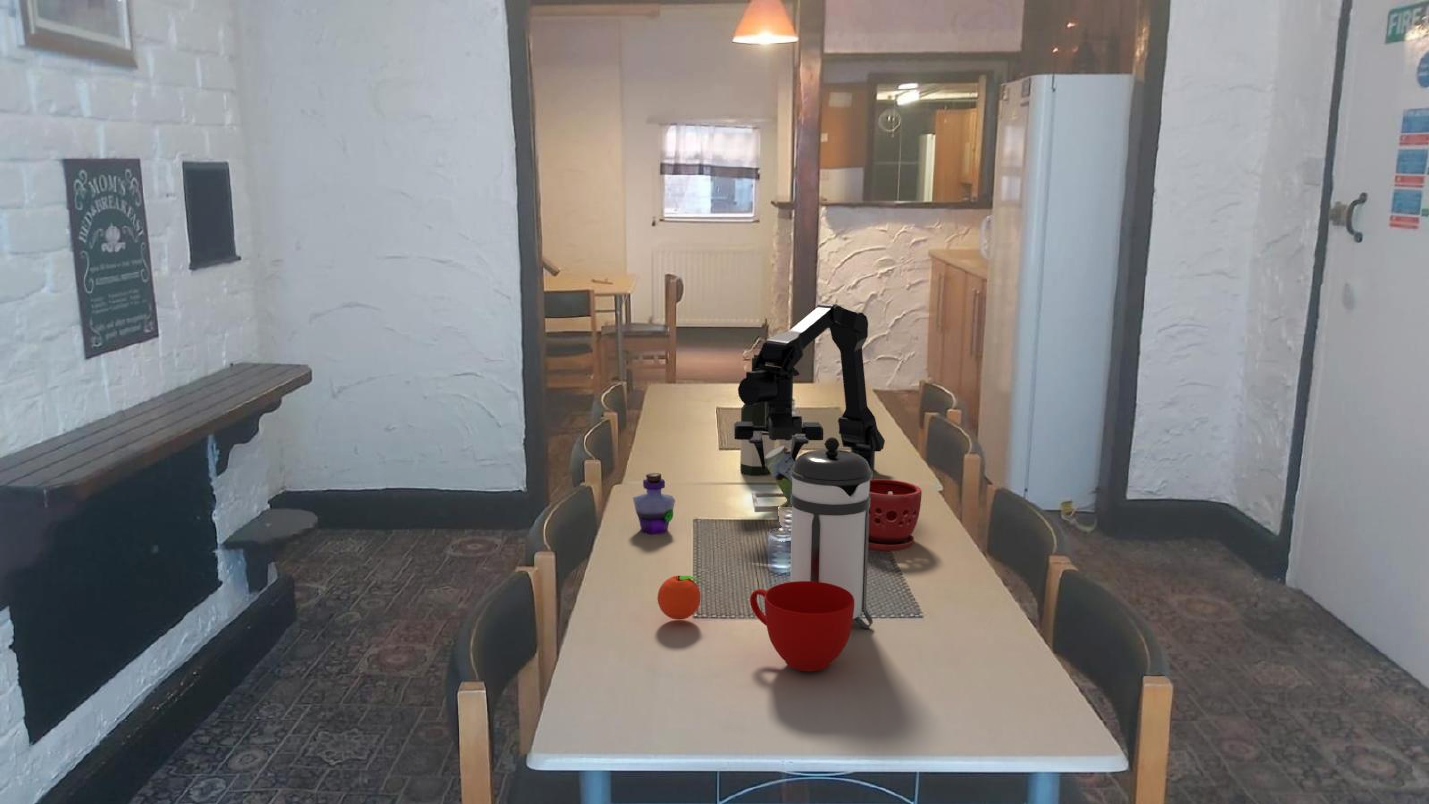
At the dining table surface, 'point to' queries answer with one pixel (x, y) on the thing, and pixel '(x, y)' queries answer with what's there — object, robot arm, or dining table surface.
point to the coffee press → (831, 521)
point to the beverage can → (781, 468)
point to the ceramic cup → (806, 622)
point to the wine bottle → (749, 453)
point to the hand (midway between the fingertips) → (777, 470)
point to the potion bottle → (654, 506)
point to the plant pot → (892, 514)
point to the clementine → (679, 597)
